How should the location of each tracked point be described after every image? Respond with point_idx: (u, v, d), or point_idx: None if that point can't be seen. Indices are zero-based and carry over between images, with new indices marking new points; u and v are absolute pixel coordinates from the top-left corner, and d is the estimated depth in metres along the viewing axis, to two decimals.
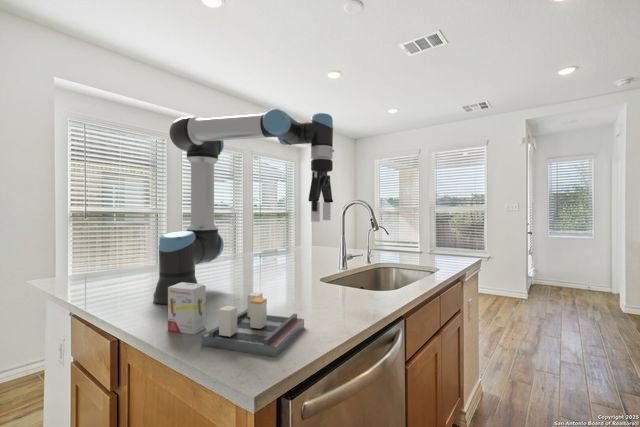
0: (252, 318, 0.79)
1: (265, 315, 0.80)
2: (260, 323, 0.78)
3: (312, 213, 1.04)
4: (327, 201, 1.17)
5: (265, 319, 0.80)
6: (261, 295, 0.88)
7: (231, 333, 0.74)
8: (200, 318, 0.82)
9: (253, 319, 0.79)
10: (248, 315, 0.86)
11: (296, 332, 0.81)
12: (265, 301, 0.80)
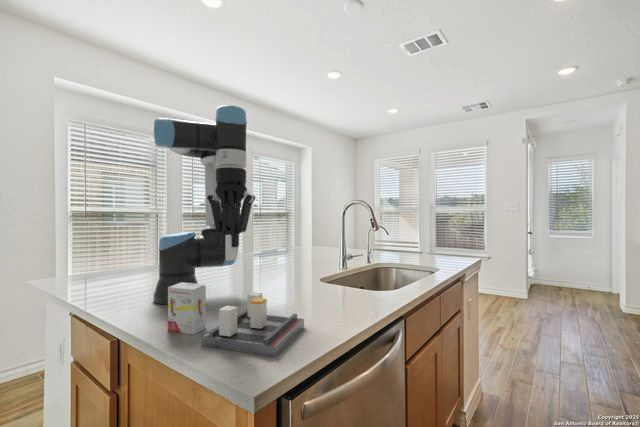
0: (252, 318, 0.79)
1: (265, 315, 0.80)
2: (260, 323, 0.78)
3: None
4: None
5: (265, 319, 0.80)
6: (261, 295, 0.88)
7: (231, 333, 0.74)
8: (200, 318, 0.82)
9: (253, 319, 0.79)
10: (248, 315, 0.86)
11: (296, 332, 0.81)
12: (265, 301, 0.80)
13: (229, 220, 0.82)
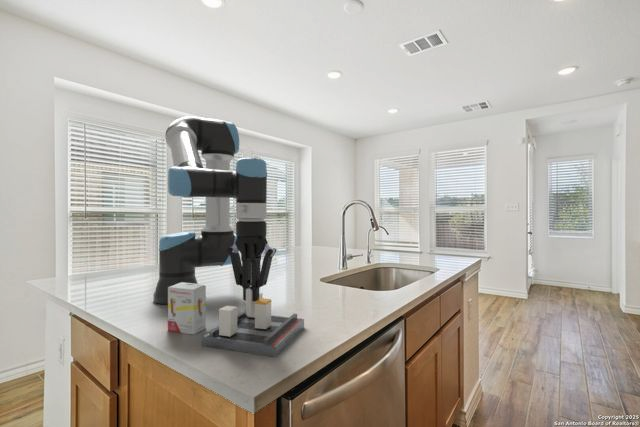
0: (257, 318, 0.78)
1: (270, 316, 0.80)
2: (265, 324, 0.78)
3: None
4: None
5: (270, 320, 0.80)
6: (261, 295, 0.88)
7: (231, 333, 0.74)
8: (200, 318, 0.82)
9: (258, 319, 0.78)
10: (248, 315, 0.86)
11: (296, 332, 0.81)
12: (269, 302, 0.80)
13: (249, 273, 0.81)
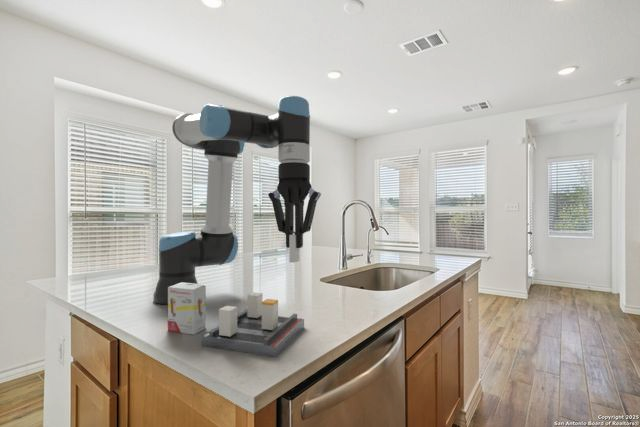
0: (263, 319, 0.78)
1: (276, 316, 0.79)
2: (272, 324, 0.77)
3: None
4: None
5: (276, 320, 0.79)
6: (261, 295, 0.88)
7: (231, 333, 0.74)
8: (200, 318, 0.82)
9: (265, 320, 0.78)
10: (248, 315, 0.86)
11: (296, 332, 0.81)
12: (276, 302, 0.79)
13: (292, 219, 0.77)
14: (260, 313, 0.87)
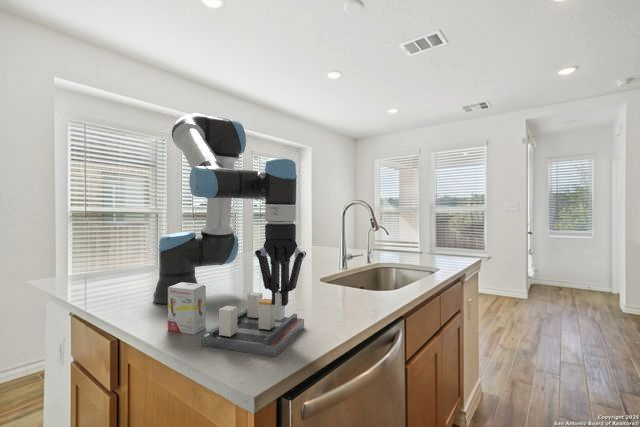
0: (260, 319, 0.78)
1: (273, 316, 0.80)
2: (269, 324, 0.77)
3: None
4: None
5: (273, 320, 0.80)
6: (261, 295, 0.88)
7: (231, 333, 0.74)
8: (200, 318, 0.82)
9: (262, 320, 0.78)
10: (248, 315, 0.86)
11: (296, 332, 0.81)
12: None
13: (278, 276, 0.79)
14: None
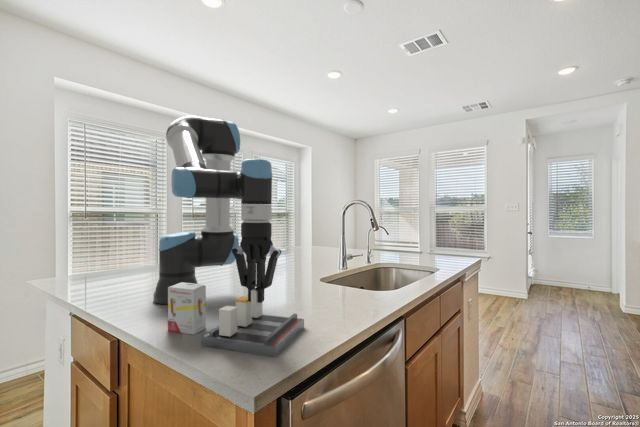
0: (237, 316, 0.80)
1: (250, 313, 0.81)
2: (245, 321, 0.79)
3: None
4: None
5: (250, 317, 0.81)
6: None
7: (231, 333, 0.74)
8: (200, 318, 0.82)
9: (238, 317, 0.80)
10: None
11: (296, 332, 0.81)
12: None
13: (254, 274, 0.80)
14: None
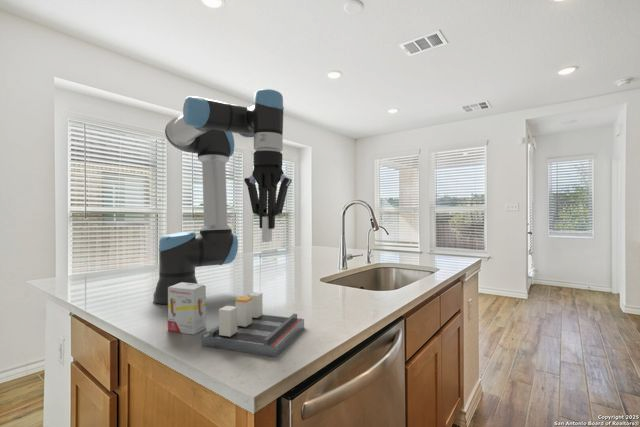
0: (237, 316, 0.80)
1: (250, 313, 0.81)
2: (245, 321, 0.79)
3: None
4: None
5: (250, 317, 0.81)
6: (261, 295, 0.88)
7: (231, 333, 0.74)
8: (200, 318, 0.82)
9: (238, 317, 0.80)
10: None
11: (296, 332, 0.81)
12: (250, 300, 0.81)
13: (265, 202, 0.84)
14: (260, 313, 0.87)
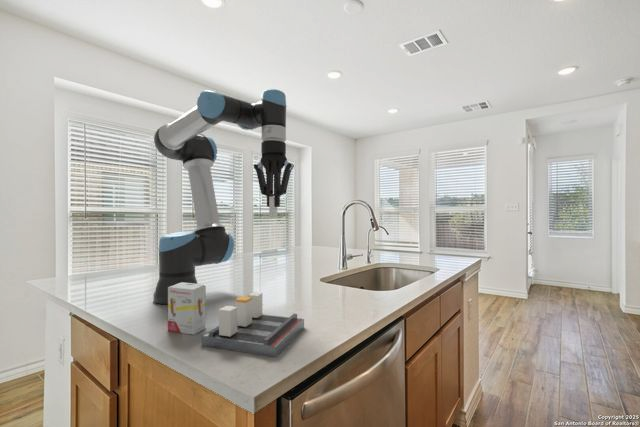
0: (237, 316, 0.80)
1: (250, 313, 0.81)
2: (245, 321, 0.79)
3: None
4: None
5: (250, 317, 0.81)
6: (261, 295, 0.88)
7: (231, 333, 0.74)
8: (200, 318, 0.82)
9: (238, 317, 0.80)
10: None
11: (296, 332, 0.81)
12: (250, 300, 0.81)
13: (271, 185, 0.99)
14: (260, 313, 0.87)
